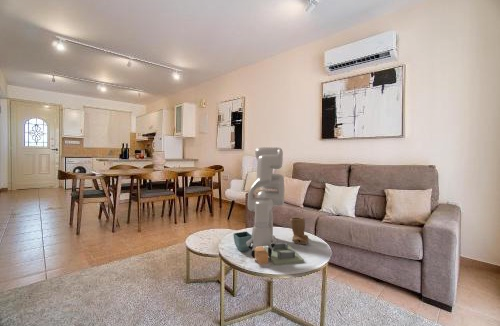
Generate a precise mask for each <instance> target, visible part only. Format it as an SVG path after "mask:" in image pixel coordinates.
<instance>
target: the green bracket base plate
mask: <svg viewBox="0 0 500 326" xmlns="http://www.w3.org/2000/svg"><path fill="white" fill-rule="evenodd" d="M263 248H264V249H265V250H266V252H267V253H268V248H269V246H263ZM268 259H269V260H270V261H271V262H272V264H273V266H280V265H291V264H301V263H304V262H305V260H304V258H303V257H302V256H301V255H300V253H298V252H297V251H296V249H294V248H293V247H292V246H291V245H288V243H287V242H278V243H277V242H276V244H275V246H274V247H273V249H272V255H271V257H269V256H268Z"/></svg>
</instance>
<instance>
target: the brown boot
mask: <svg viewBox="0 0 500 326" xmlns="http://www.w3.org/2000/svg"><path fill="white" fill-rule="evenodd" d="M289 221H290V224H289V225H290V227H291V228H290V229H291V230H292V232H293V233H292V234H293V236H292V240H291V241H292V242H293V243H295V244H297V245H306V244H308V242H309V236H308V235H307V234H305V228H306V222H305V218H304V217H302V216H297V217H295V216H294V217H291V218H290V219H289Z"/></svg>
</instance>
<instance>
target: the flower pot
mask: <svg viewBox="0 0 500 326" xmlns="http://www.w3.org/2000/svg"><path fill="white" fill-rule="evenodd" d="M251 238H252V233H249V232H248V231H240V232H234V233H233V240H234V244H235V247H236V248H237V250H238V251H240V252H245V251H249V250H250V248H249V247H248V246H247V244H246V242H247V241H248V240H250V239H251ZM250 246H252V242H251V243H250Z"/></svg>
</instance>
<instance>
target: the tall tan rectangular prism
mask: <svg viewBox="0 0 500 326" xmlns="http://www.w3.org/2000/svg"><path fill="white" fill-rule="evenodd" d="M254 251H255V258H254V260H256V262H257V264H258V265H261V264H269V257H268V253H267V252H266V250H265V249H264V246H259V247H256V248H255V249H254Z"/></svg>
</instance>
